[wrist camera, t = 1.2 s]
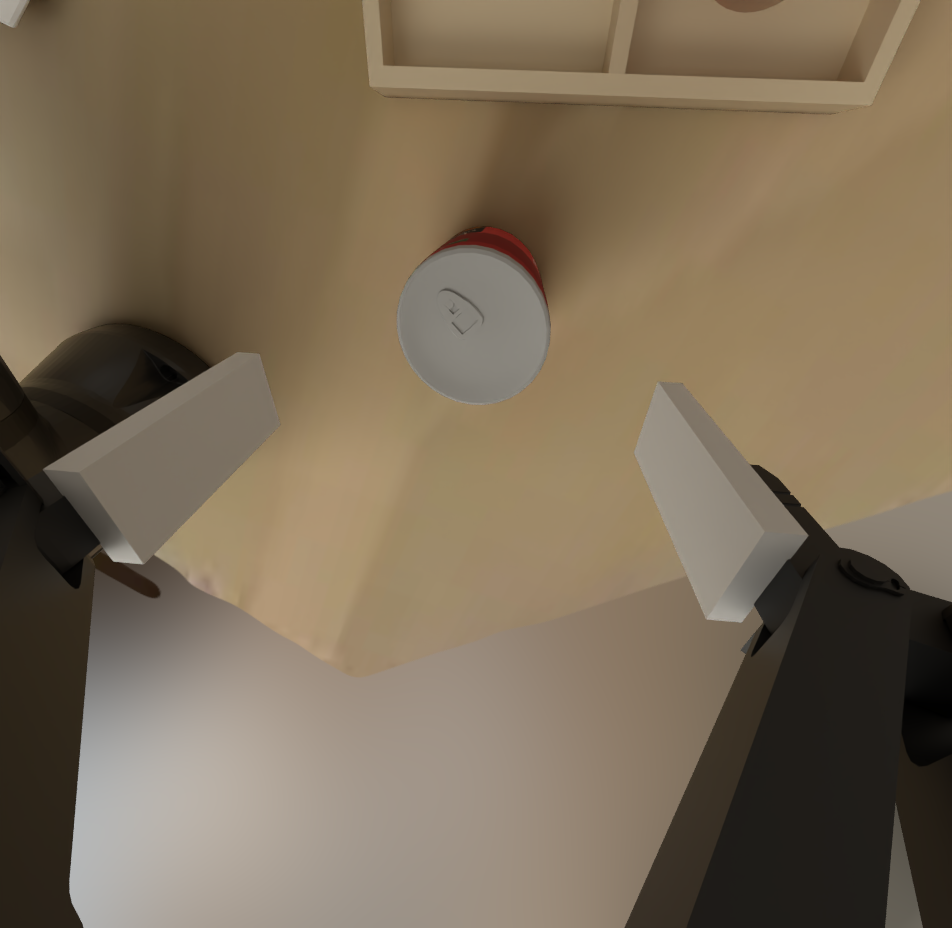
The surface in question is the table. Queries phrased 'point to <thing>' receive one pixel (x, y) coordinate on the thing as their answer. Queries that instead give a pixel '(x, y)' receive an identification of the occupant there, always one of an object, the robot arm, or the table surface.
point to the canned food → (475, 318)
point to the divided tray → (636, 52)
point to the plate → (12, 11)
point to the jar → (747, 5)
